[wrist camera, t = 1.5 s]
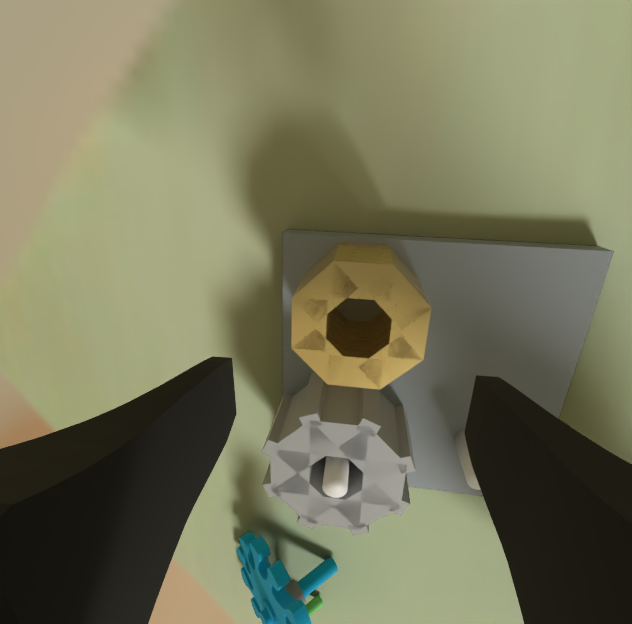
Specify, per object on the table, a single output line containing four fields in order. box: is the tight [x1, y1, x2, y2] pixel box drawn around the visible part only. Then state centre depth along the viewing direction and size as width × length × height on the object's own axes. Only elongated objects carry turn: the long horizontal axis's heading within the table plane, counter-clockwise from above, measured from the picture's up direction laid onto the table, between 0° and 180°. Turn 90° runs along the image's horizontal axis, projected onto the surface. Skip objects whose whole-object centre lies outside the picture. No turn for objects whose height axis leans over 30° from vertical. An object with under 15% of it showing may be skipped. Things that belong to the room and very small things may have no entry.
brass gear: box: [291, 242, 431, 390], centre depth 17 cm, size 6×6×4 cm
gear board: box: [262, 230, 614, 535], centre depth 19 cm, size 15×15×6 cm
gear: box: [237, 531, 338, 624], centre depth 26 cm, size 11×6×10 cm
